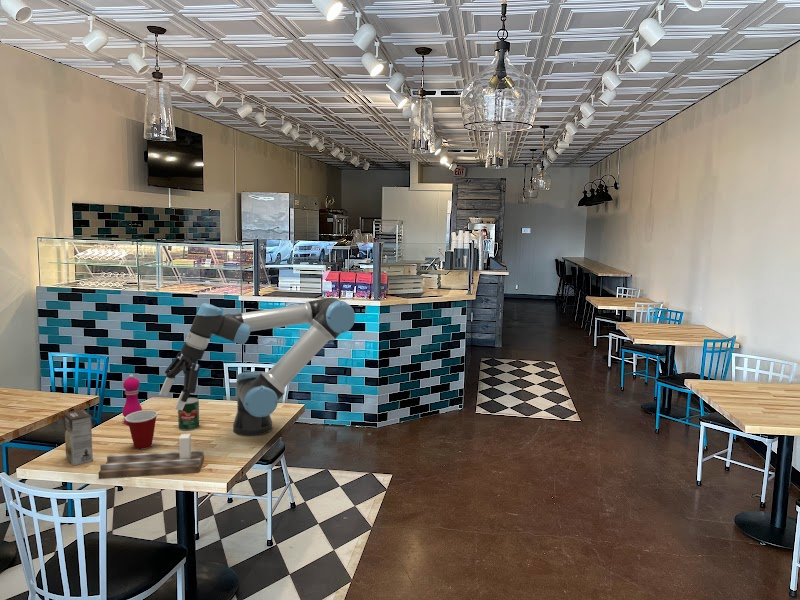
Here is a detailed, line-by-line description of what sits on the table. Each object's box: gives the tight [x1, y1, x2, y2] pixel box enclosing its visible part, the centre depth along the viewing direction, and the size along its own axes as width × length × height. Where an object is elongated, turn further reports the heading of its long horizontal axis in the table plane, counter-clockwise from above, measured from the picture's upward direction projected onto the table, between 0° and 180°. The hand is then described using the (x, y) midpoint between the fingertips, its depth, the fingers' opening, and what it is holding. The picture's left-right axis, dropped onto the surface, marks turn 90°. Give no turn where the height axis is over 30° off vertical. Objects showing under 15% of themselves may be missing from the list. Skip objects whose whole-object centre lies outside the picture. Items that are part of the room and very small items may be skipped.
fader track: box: [98, 450, 205, 480], centre depth 188 cm, size 30×12×4 cm, turn 101°
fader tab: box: [178, 433, 192, 460], centre depth 190 cm, size 3×4×8 cm
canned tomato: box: [177, 397, 200, 432], centre depth 227 cm, size 8×8×11 cm
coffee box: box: [63, 408, 94, 466], centre depth 193 cm, size 9×6×16 cm
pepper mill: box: [122, 373, 143, 426], centre depth 231 cm, size 7×7×20 cm
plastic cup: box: [124, 409, 158, 450], centre depth 206 cm, size 11×11×12 cm
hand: (170, 402), depth 200 cm, fingers open, 13 cm apart
